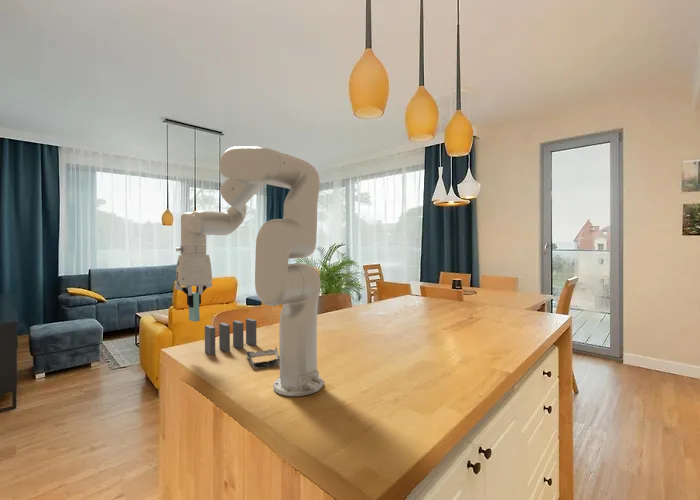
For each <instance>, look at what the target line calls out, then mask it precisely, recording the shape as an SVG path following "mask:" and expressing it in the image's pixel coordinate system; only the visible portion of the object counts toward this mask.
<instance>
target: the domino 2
mask: <svg viewBox="0 0 700 500" xmlns="http://www.w3.org/2000/svg"><path fill="white" fill-rule="evenodd" d="M218 324H219V325H218V330H219V331H218V334H219V337H218V338H219V342H218V343H219V350H221V351H222V352H224V353H227V352H230V351H231V326H230V325H231V324H228V323H226V322H221V323H218Z"/></svg>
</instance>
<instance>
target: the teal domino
mask: <svg viewBox="0 0 700 500" xmlns="http://www.w3.org/2000/svg"><path fill="white" fill-rule="evenodd" d="M192 295H193V308H191V307H189V306H188V320H189V321H191V322H200V321H201V320H200V317H201V316H200V307H199V293H196V292H195V291H192Z"/></svg>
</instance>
